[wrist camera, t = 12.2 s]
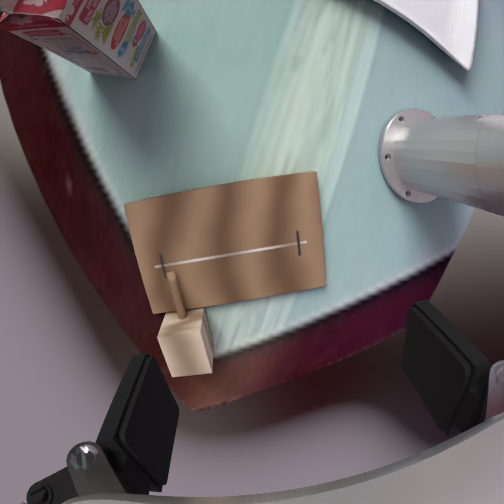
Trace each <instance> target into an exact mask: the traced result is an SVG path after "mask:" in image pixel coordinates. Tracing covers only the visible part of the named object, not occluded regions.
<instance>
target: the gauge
mask: <svg viewBox="0 0 504 504" xmlns="http://www.w3.org/2000/svg"><path fill="white" fill-rule="evenodd" d="M166 275H167V278H168V282H169V286H170V290H171V293H172V297H173V300H174V304H175V307H176V311H171V312H166V314H165V317H164V320H163V322H162V325H161V328H160V331H159V334H158V337H157V338H158V341H159V344H160V346H161V349H162V352H163V354H164V357H165V360H166V362H167V365H168V367H169V370H170V372H171V375H172V377H178V376H189V375H198V374H207V373H212V366H213V346H214V344H213V341H212V337H211V333H210V329H209V325H208V321H207V317H206V313H205V309H204V307H200V308H193V309H186V310H185V309H184V305H183V302H182V298H181V294H180V290H179V287H178V283H177V279H176V275H175V271H174V270H171V271H168V272H166Z"/></svg>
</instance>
